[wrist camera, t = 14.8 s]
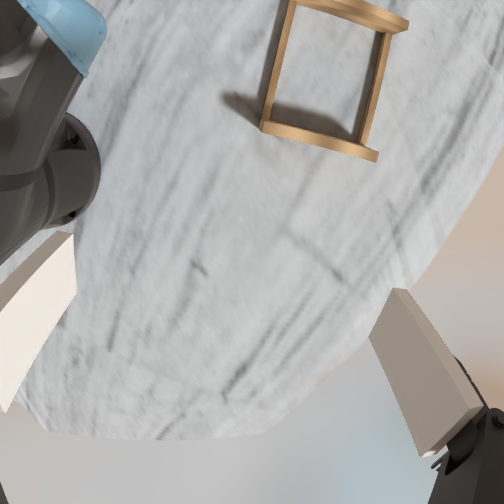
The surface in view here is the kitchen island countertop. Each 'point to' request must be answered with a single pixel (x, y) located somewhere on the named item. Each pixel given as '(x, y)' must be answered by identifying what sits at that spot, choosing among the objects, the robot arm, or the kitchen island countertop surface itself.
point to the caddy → (354, 9)
